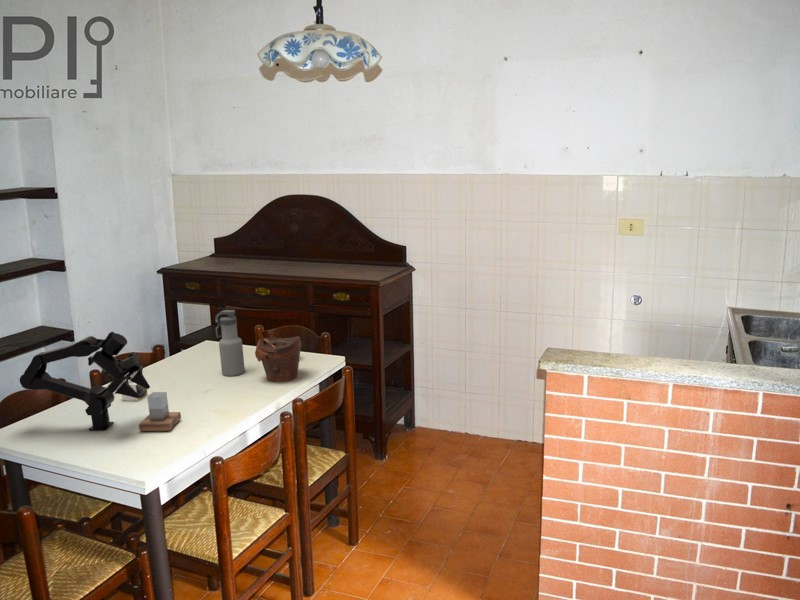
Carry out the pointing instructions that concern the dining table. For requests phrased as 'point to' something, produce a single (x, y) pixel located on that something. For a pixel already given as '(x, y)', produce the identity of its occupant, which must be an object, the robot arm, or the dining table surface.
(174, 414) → the walnut stand
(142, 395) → the medicine bottle
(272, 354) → the case
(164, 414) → the block
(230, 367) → the water bottle
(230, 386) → the dining table surface
